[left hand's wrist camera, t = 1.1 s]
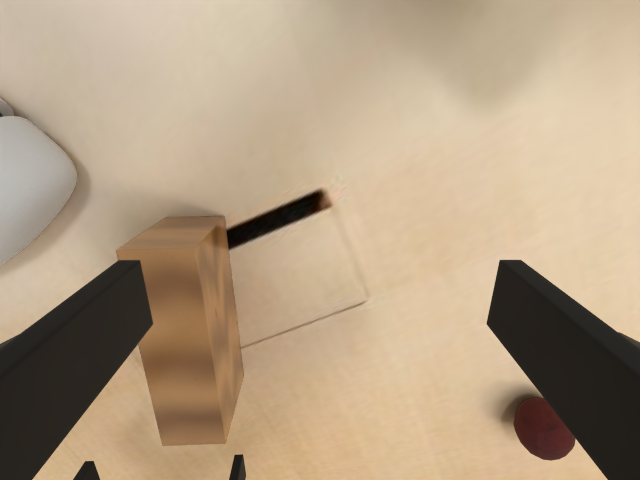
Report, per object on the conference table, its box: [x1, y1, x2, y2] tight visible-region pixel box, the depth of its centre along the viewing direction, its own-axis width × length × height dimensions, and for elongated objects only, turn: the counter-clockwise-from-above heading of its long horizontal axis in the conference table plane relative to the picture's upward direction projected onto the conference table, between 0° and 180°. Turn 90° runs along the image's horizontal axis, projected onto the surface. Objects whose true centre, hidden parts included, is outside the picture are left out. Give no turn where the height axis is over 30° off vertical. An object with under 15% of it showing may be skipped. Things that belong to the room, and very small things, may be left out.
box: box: [116, 216, 244, 446], centre depth 38 cm, size 23×7×11 cm, turn 1°
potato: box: [514, 397, 575, 460], centre depth 47 cm, size 7×8×7 cm
